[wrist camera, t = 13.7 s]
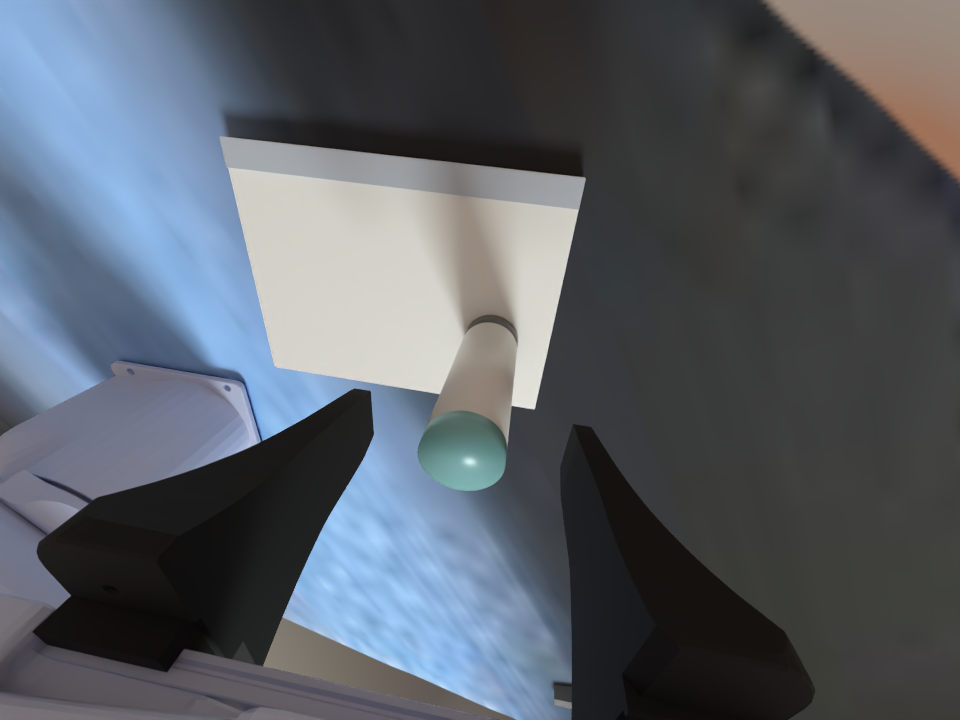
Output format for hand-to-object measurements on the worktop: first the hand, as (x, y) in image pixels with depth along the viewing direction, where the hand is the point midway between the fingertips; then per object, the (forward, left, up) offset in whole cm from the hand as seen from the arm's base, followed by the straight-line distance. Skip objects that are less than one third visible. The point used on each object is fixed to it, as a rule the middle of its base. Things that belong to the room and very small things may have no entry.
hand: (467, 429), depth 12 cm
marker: (0, 0, -7) cm, 7 cm away
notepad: (-5, +2, -8) cm, 10 cm away
